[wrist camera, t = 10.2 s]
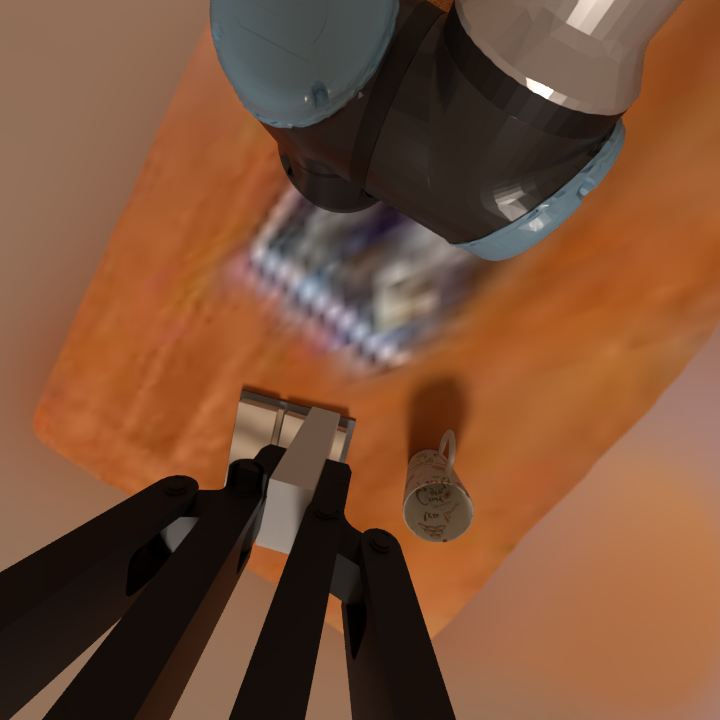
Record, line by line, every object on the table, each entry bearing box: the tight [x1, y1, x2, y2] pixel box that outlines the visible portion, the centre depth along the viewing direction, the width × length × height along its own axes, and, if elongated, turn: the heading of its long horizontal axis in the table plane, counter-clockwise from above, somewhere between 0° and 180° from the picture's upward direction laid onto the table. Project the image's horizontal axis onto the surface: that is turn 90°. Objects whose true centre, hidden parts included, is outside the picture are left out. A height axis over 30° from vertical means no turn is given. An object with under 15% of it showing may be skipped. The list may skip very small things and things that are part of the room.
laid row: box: [224, 390, 356, 487], centre depth 51 cm, size 22×17×2 cm
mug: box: [403, 429, 474, 542], centre depth 45 cm, size 8×13×10 cm, turn 168°
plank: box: [278, 411, 348, 462], centre depth 49 cm, size 10×9×2 cm
